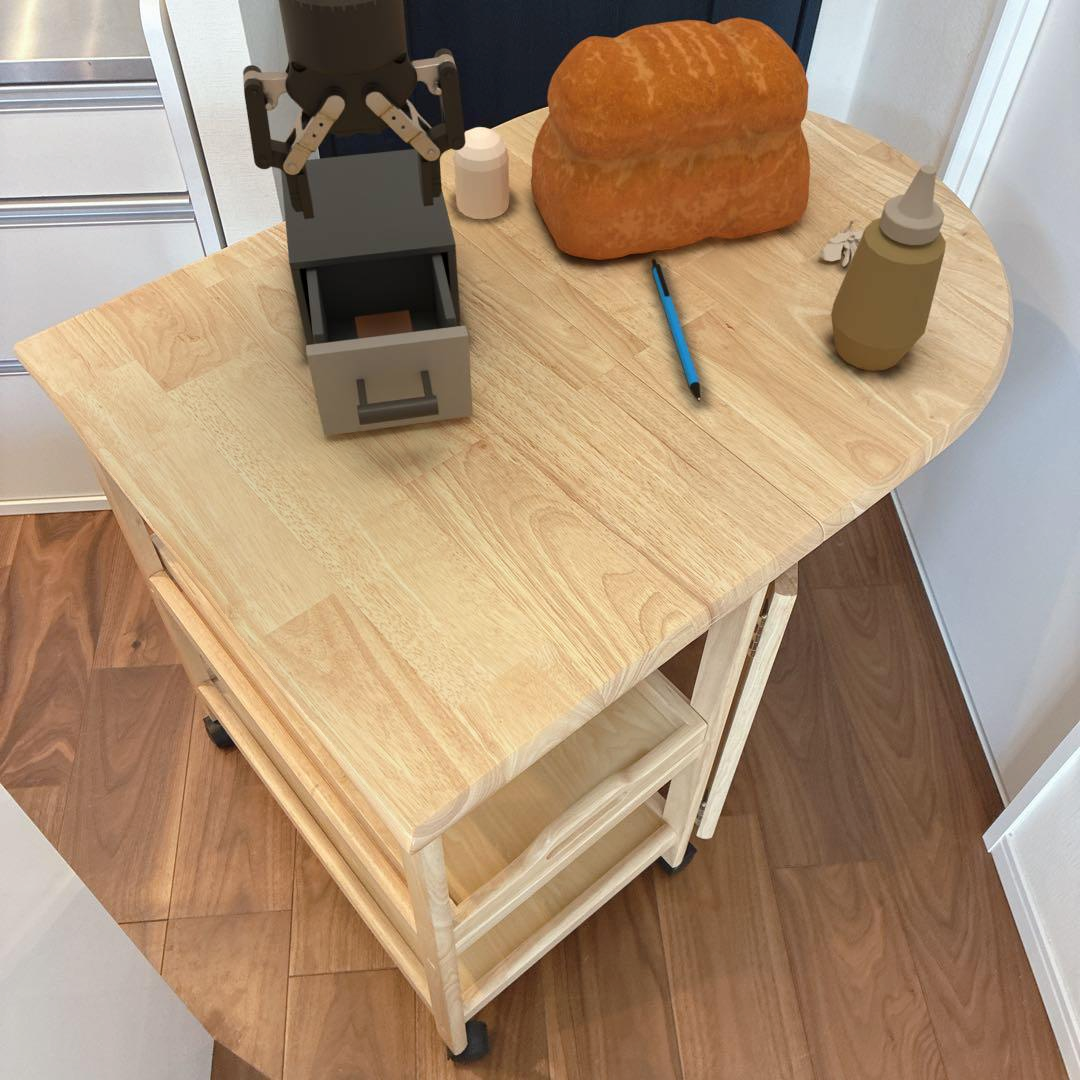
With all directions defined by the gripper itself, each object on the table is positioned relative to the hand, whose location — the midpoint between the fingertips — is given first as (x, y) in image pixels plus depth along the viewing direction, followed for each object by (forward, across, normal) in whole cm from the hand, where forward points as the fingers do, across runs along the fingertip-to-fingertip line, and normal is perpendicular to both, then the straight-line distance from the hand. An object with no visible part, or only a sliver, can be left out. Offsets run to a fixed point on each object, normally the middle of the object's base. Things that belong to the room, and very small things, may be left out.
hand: (368, 206), depth 76 cm
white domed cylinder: (+18, -12, -25) cm, 33 cm away
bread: (+18, -30, -21) cm, 41 cm away
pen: (+18, -26, -3) cm, 32 cm away
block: (+16, 0, 0) cm, 16 cm away
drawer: (+17, 0, +1) cm, 17 cm away
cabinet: (+18, 0, -12) cm, 22 cm away
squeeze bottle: (+18, -42, +3) cm, 46 cm away
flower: (+18, -46, -9) cm, 50 cm away
